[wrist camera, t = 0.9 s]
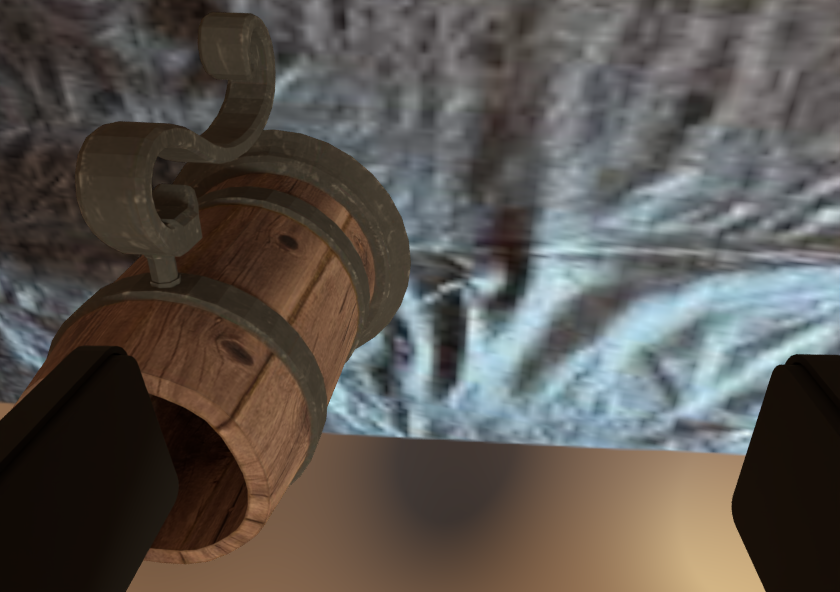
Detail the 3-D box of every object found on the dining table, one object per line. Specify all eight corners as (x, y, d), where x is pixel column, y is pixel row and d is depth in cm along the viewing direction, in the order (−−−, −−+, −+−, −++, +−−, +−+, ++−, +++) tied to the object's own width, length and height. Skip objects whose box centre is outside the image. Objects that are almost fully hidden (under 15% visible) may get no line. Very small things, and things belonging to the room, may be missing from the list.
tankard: (408, 367, 43) (365, 636, 25) (184, 352, 44) (-7, 601, 26) (416, 13, 32) (347, 57, 14) (114, 3, 33) (-302, 32, 15)
